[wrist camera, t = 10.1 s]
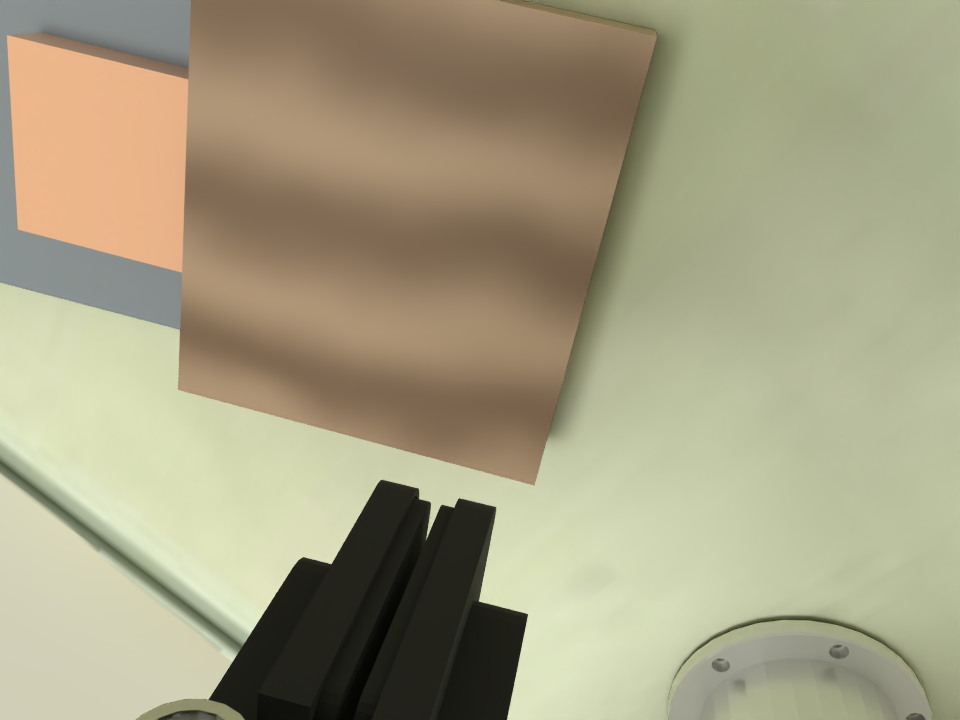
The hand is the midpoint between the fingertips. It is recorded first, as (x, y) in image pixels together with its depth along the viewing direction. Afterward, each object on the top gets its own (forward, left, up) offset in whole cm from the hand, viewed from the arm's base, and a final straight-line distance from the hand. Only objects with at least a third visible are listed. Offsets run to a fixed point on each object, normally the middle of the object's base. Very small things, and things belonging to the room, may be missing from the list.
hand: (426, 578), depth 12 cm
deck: (-2, +6, -24) cm, 25 cm away
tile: (-3, +18, -23) cm, 30 cm away
